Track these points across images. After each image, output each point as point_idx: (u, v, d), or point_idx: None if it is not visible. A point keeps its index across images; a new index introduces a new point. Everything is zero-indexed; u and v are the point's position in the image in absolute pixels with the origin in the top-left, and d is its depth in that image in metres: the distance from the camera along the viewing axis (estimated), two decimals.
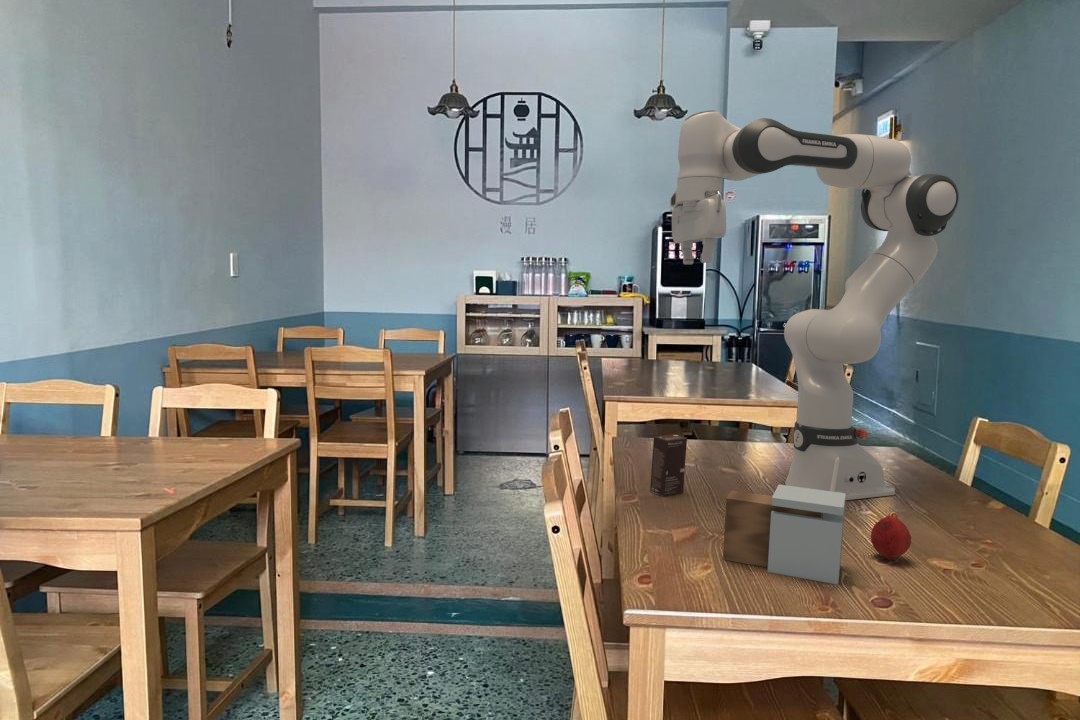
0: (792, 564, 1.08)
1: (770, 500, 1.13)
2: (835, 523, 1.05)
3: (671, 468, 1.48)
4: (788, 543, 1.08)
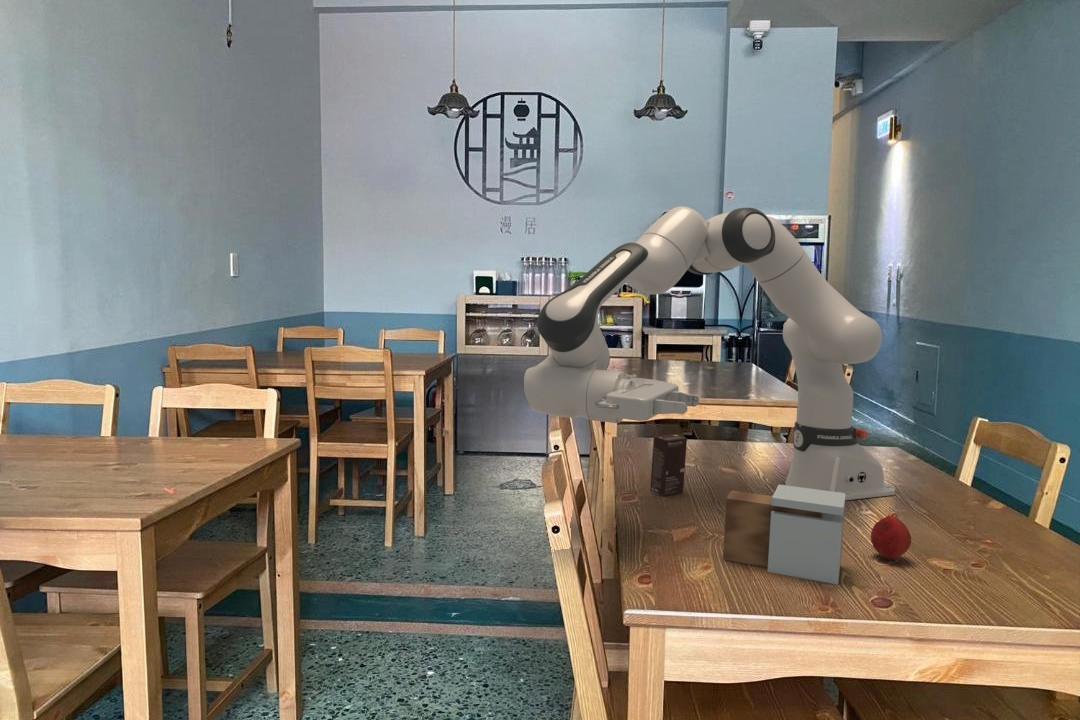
0: (792, 564, 1.08)
1: (770, 500, 1.13)
2: (835, 523, 1.05)
3: (671, 468, 1.48)
4: (788, 543, 1.08)
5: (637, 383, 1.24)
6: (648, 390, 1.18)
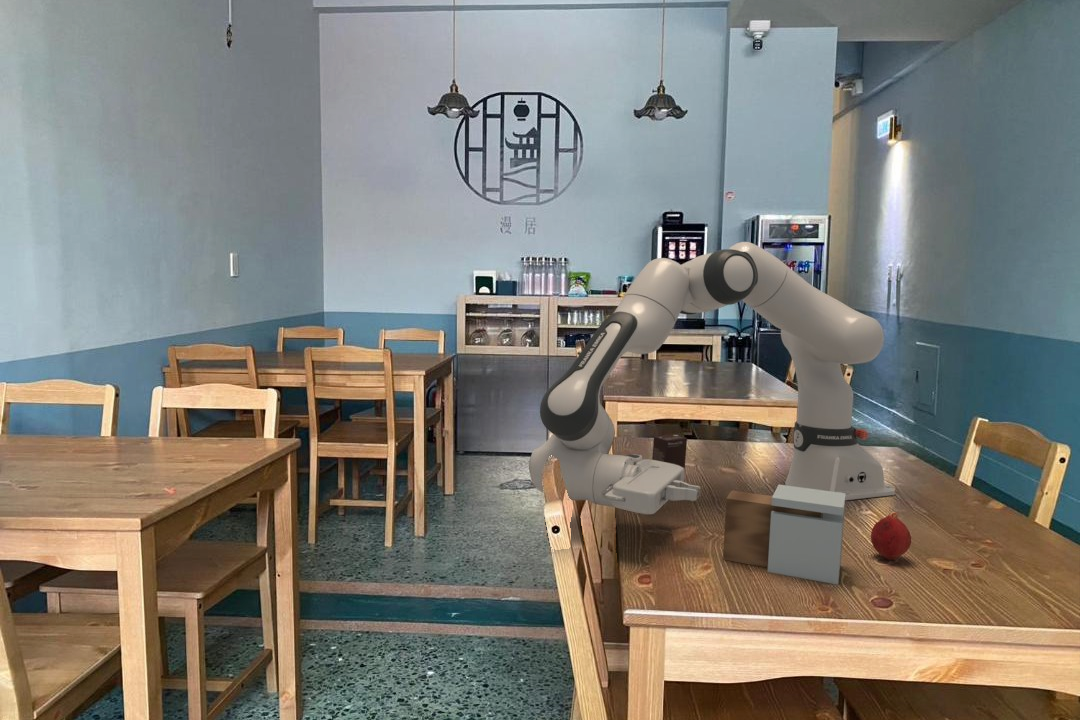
0: (792, 564, 1.08)
1: (770, 500, 1.13)
2: (835, 523, 1.05)
3: None
4: (788, 543, 1.08)
5: (643, 467, 1.25)
6: (654, 478, 1.19)
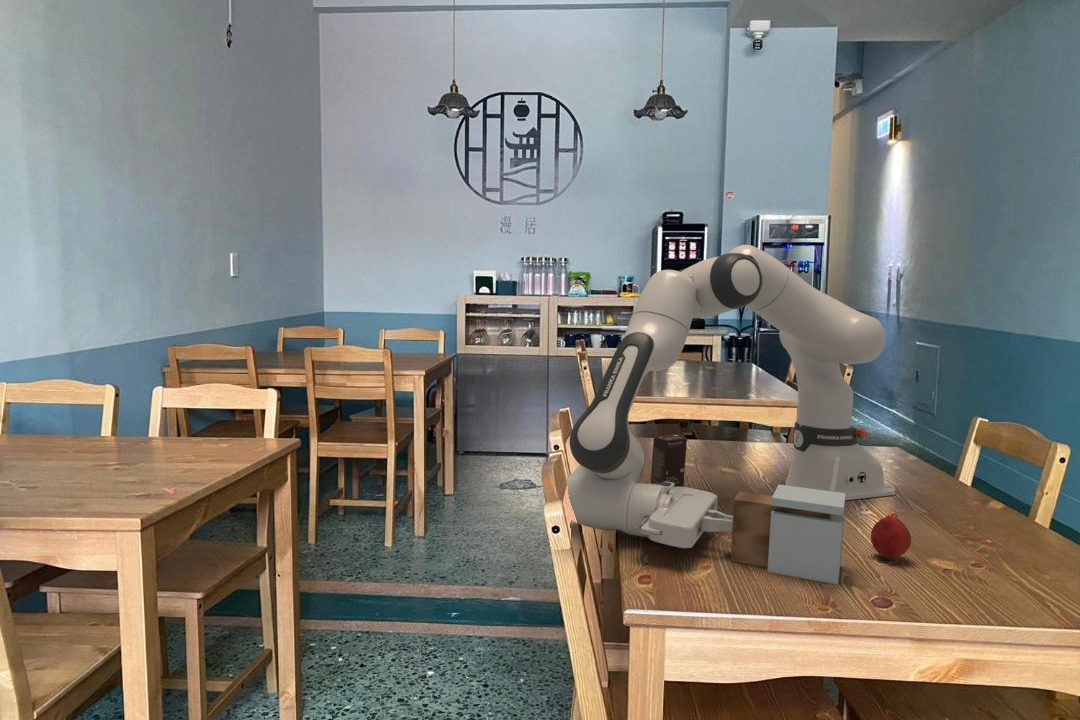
0: (792, 564, 1.08)
1: None
2: (835, 523, 1.05)
3: (671, 468, 1.48)
4: (788, 543, 1.08)
5: (676, 496, 1.23)
6: (689, 508, 1.17)
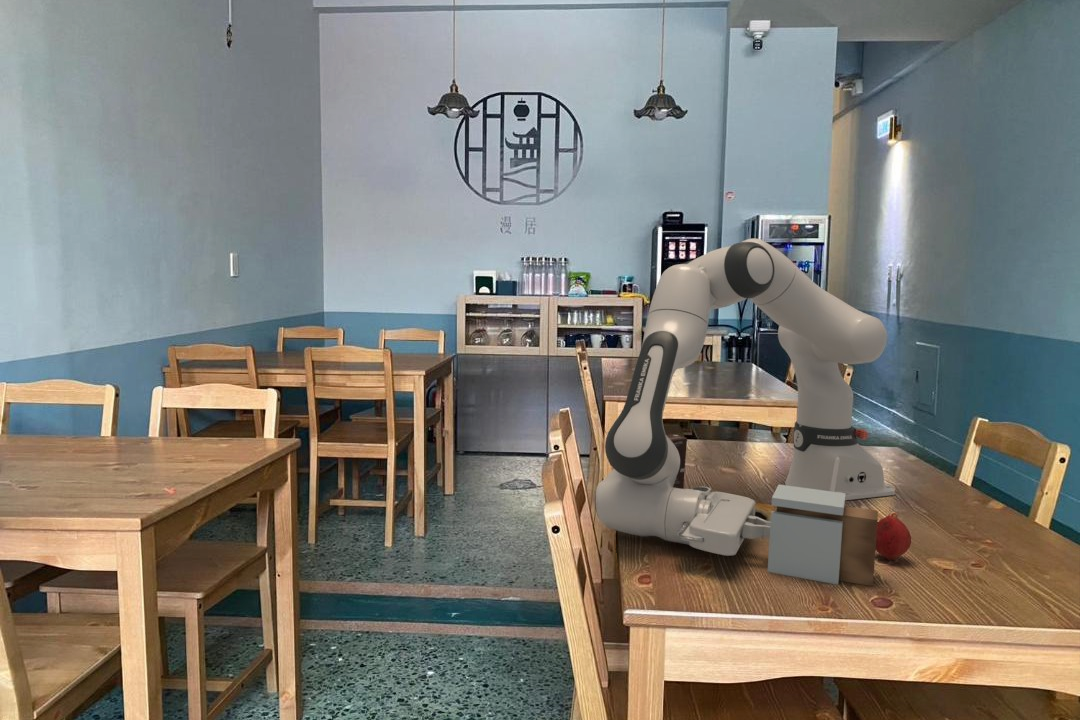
0: (792, 564, 1.08)
1: None
2: (835, 523, 1.05)
3: None
4: (788, 543, 1.08)
5: (714, 501, 1.20)
6: (730, 514, 1.15)
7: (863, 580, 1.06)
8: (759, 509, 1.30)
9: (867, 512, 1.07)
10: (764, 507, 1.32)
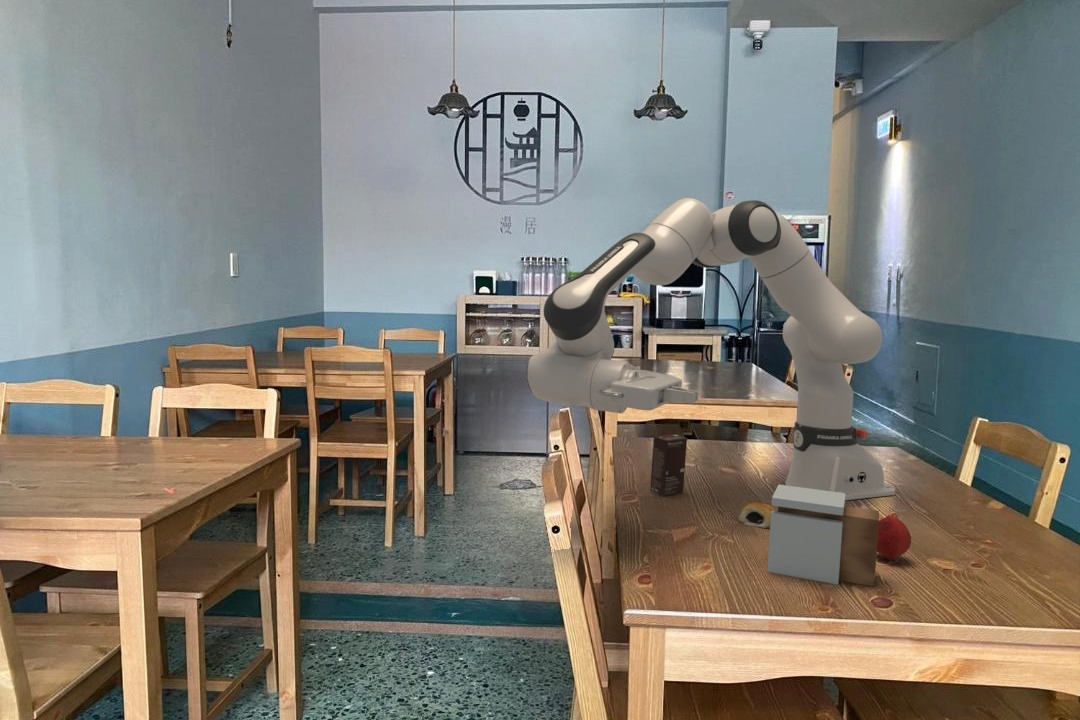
0: (792, 564, 1.08)
1: None
2: (835, 523, 1.05)
3: (671, 468, 1.48)
4: (788, 543, 1.08)
5: (641, 375, 1.24)
6: (653, 381, 1.18)
7: (864, 580, 1.06)
8: (756, 509, 1.31)
9: (868, 513, 1.07)
10: (761, 507, 1.32)
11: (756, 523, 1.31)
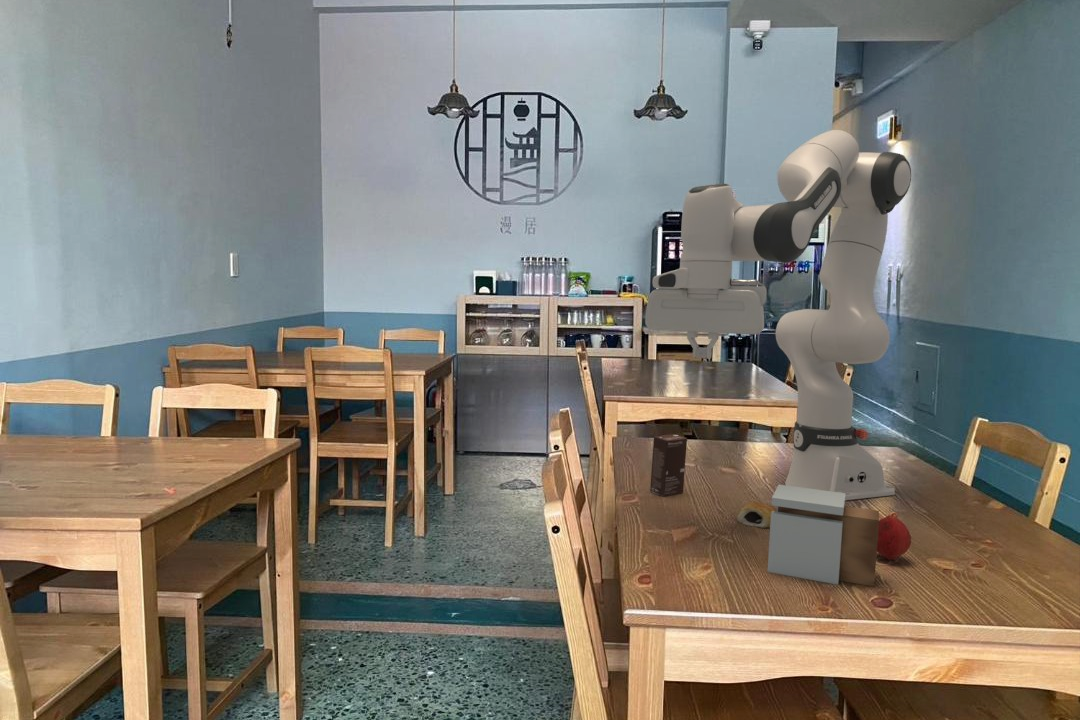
0: (792, 564, 1.08)
1: None
2: (835, 523, 1.05)
3: (671, 468, 1.48)
4: (788, 543, 1.08)
5: None
6: None
7: (864, 580, 1.06)
8: (754, 509, 1.31)
9: (868, 513, 1.07)
10: (759, 506, 1.32)
11: (754, 523, 1.31)
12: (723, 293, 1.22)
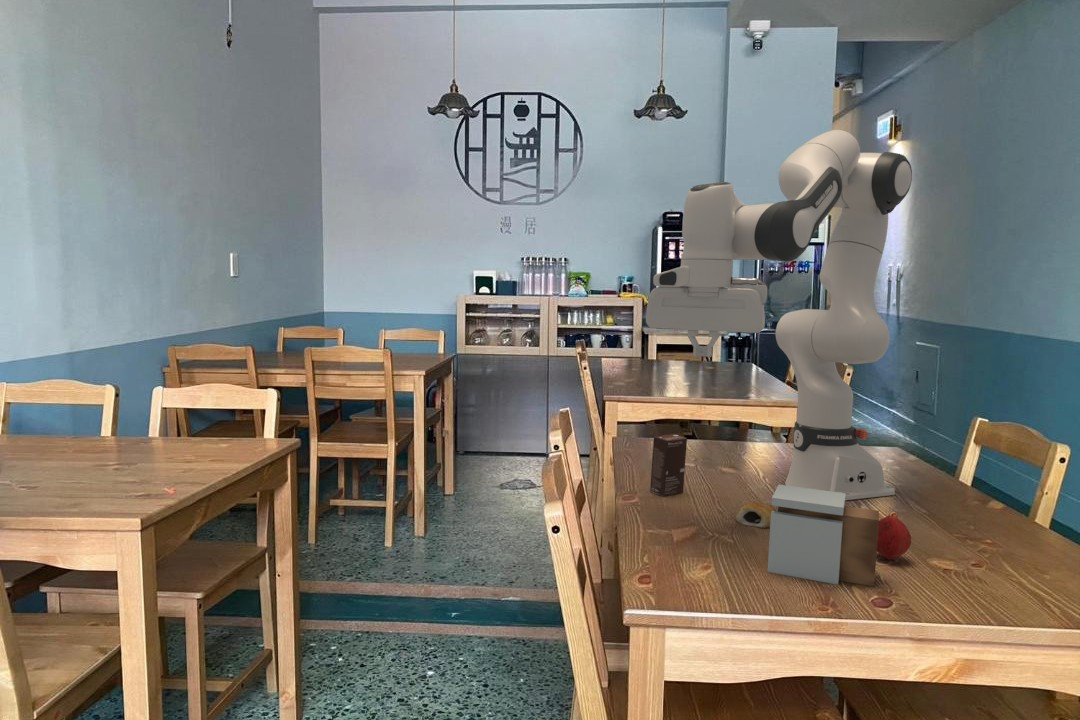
0: (792, 564, 1.08)
1: None
2: (835, 523, 1.05)
3: (671, 468, 1.48)
4: (788, 543, 1.08)
5: None
6: None
7: (864, 580, 1.06)
8: (753, 508, 1.31)
9: (868, 513, 1.07)
10: (758, 506, 1.32)
11: (753, 523, 1.31)
12: (724, 291, 1.22)
